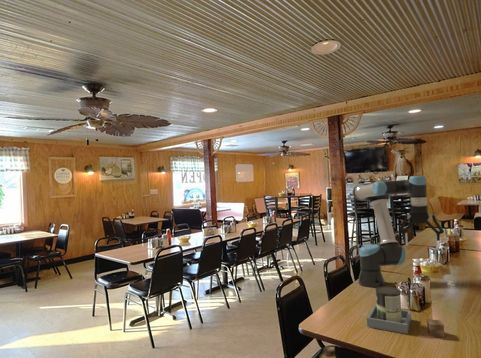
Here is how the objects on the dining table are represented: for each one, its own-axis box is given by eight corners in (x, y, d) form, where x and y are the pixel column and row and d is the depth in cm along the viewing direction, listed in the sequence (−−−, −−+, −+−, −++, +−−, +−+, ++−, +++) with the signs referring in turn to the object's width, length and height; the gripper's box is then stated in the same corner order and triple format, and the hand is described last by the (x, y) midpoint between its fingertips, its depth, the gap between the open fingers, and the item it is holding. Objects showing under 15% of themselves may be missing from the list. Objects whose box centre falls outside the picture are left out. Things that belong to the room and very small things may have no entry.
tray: (367, 326, 144) (366, 318, 144) (374, 313, 158) (373, 305, 158) (407, 334, 136) (407, 324, 136) (411, 319, 149) (410, 311, 149)
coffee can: (374, 322, 146) (372, 291, 146) (381, 314, 154) (379, 284, 154) (399, 328, 139) (397, 295, 140) (404, 319, 147) (403, 288, 147)
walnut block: (430, 336, 133) (429, 324, 133) (427, 331, 138) (426, 319, 138) (444, 337, 131) (443, 325, 131) (441, 332, 136) (440, 320, 136)
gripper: (391, 206, 173) (394, 246, 173) (447, 205, 159) (450, 249, 159) (393, 205, 179) (396, 243, 179) (447, 204, 166) (450, 246, 166)
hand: (421, 246), depth 169 cm, fingers open, 13 cm apart
